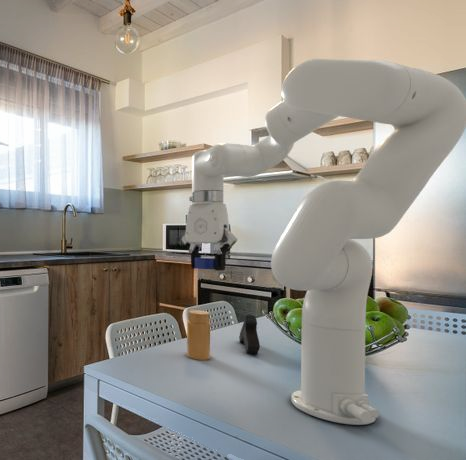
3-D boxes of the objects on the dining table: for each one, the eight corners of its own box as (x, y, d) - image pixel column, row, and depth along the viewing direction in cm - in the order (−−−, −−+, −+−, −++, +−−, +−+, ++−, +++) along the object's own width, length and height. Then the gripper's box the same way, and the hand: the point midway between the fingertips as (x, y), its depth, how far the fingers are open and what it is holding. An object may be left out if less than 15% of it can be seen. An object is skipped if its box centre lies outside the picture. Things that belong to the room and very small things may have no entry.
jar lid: (223, 268, 103) (223, 257, 104) (219, 269, 98) (219, 258, 98) (197, 267, 107) (197, 256, 107) (191, 268, 101) (191, 257, 102)
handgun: (248, 347, 104) (244, 312, 110) (241, 364, 114) (238, 331, 120) (260, 348, 103) (256, 312, 109) (252, 366, 113) (248, 332, 119)
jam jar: (213, 360, 101) (214, 314, 101) (192, 359, 101) (192, 314, 101) (204, 353, 107) (204, 310, 107) (183, 353, 107) (184, 310, 107)
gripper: (170, 201, 108) (170, 267, 108) (229, 195, 93) (229, 272, 93) (189, 202, 112) (189, 266, 112) (248, 197, 97) (248, 271, 97)
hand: (207, 268), depth 102 cm, fingers closed on jar lid, 6 cm apart
